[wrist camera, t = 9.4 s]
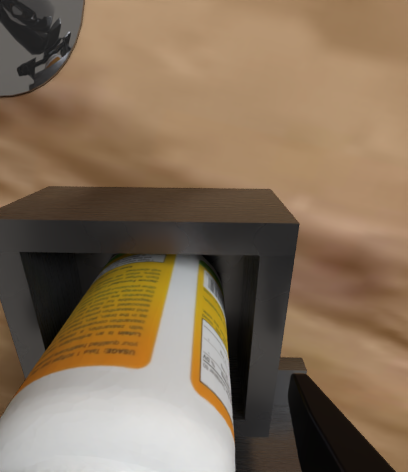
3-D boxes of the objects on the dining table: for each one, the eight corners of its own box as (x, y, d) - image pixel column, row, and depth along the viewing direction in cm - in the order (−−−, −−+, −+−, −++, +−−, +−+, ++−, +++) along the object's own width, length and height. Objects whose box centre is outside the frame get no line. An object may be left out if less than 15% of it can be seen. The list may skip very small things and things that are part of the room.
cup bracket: (293, 406, 16) (362, 643, 9) (48, 401, 17) (-81, 630, 9) (333, 189, 12) (551, 320, 4) (-13, 185, 12) (-387, 304, 4)
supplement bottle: (83, 310, 13) (-191, 735, 4) (130, 213, 11) (-192, 612, 2) (187, 356, 14) (146, 783, 5) (247, 273, 12) (349, 724, 3)
